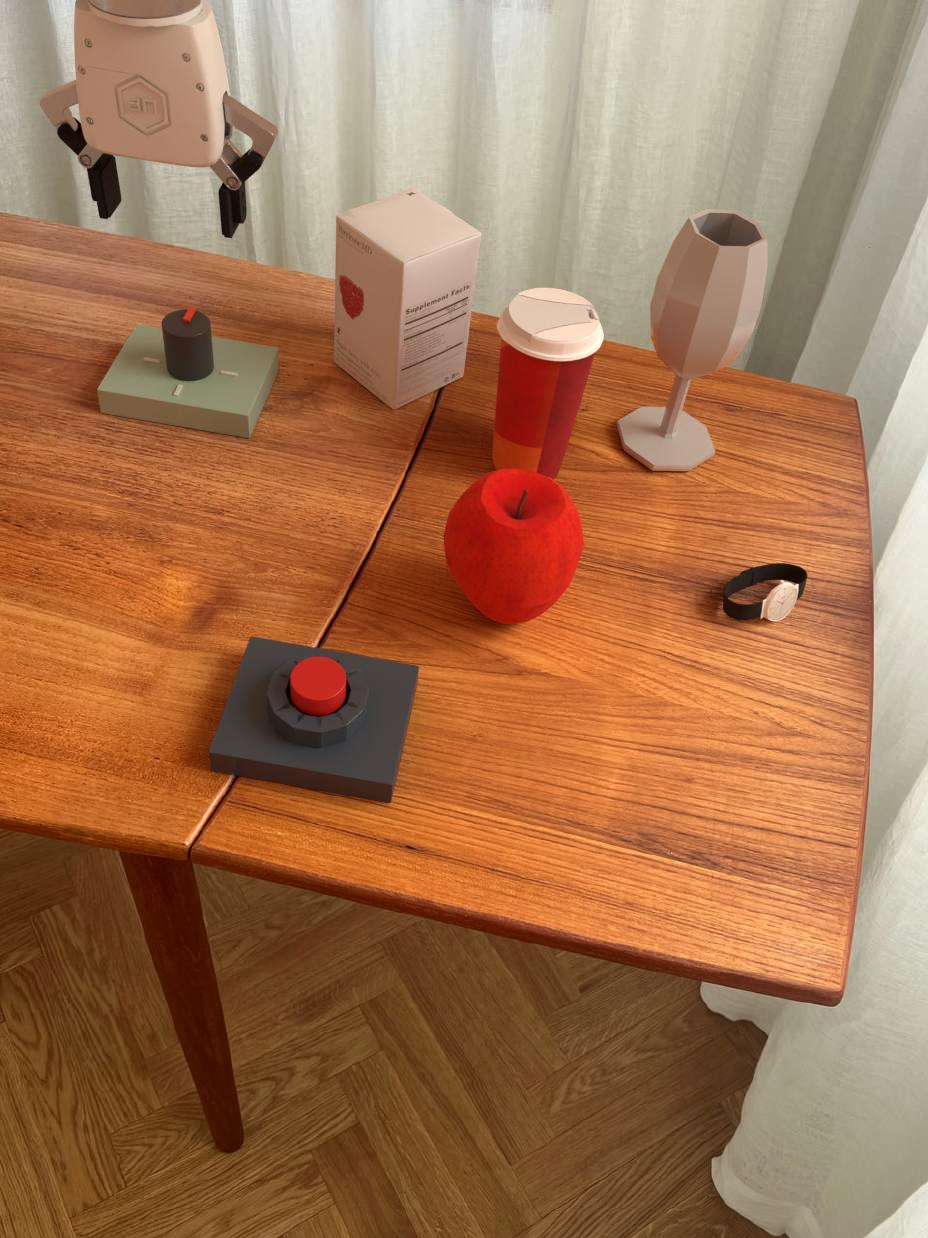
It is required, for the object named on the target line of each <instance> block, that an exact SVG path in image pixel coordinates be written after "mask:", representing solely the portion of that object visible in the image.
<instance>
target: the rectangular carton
mask: <svg viewBox="0 0 928 1238" xmlns="http://www.w3.org/2000/svg"><path fill="white" fill-rule="evenodd" d="M482 235H483V233H482V232H481V231H480V230H478V229H477V228H475V227H474V226H472V225H470V224H469V223H467V222H466V221H464V220H463V219H461V217H458V216H457V215H456V214H455V213H454V212H453V211H451V210H450V209H448V208H447V207H445V206H444V205H441V204H440V203H438V202H436V201H435V200H433V199H431V198H430V197H428V196H427V195H426V194H424V193H422V192H421V191H419V190H418V189H417V188H416V187H411V188H408V189H406V190H403V191H401V192H397V193H395V194H392V195H389V196H387V197H384V198H380V199H378V200H376V201H372V202H369V203H366V204H363V205H360V206H359V205H358V206H357V207H353V208H350V209H348V210H345V211H343V212H340V213H338V214H336V216H335V265H334V266H335V267H334V268H335V269H334V270H335V271H334V273H335V274H334V275H335V277H334V336H333V337H334V338H333V341H334V342H333V363H334V364H336V365H337V366H338V367H340V368H341V369H342V370H343V371H344V372H346V373H347V374H348V375H350V376H351V377H352V378H353V379H354V380H356V381H357V382H358V383H359V384H361V385H362V387H364V388H365V389H367V390H368V391H369V392H370V393H372V394H373V395H374V396H375V397H377V398H378V399H379V400H380V401H381V402H383V403H384V404H385V405H386V406H387V407H388V408H390V409H391V410H398V409H400V408H402V407H404V406H406V405H408V404H410V403H412V402H414V401H416V400H418V399H420V398H423V397H424V396H427V395H428V394H429V395H430V393H433V392H435V391H437V390H439V389H441V388H443V387H445V386H447V385H449V384H451V383H453V382H455V381H457V380H459V379H461V378H463V377H464V374H465V367H466V358H467V351H468V343H469V335H470V328H471V319H472V312H473V303H474V295H475V288H476V280H477V273H478V265H479V264H478V263H479V255H480V249H481V243H482V237H483V236H482Z"/></svg>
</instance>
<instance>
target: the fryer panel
mask: <svg viewBox="0 0 928 1238" xmlns="http://www.w3.org/2000/svg"><path fill="white" fill-rule="evenodd" d="M212 347H213V359H214V369H213V371H212V373H211V374H210V375H209V376H207V377H205V378H203V379H200V380H196V381H184V380H180V379H177V378H175V377H173V376H171V375H170V374H169V372H168V370H167V366H166V358H165V350H164V341H163V333H162V327H161V326H160V327H159V326H154V325H148V324H143V323H136V324H135V325H134V328H132V330H131V332H130V334H129V335H128V337H127V339H126V341H125V342H124V344H123V346H122V348H120V350H119V352H118V354H117V356H116V357H115V358H114V361H113V362H112V364H111V365H110V367H109V369H108V370H107V372H106V374H105V375H104V376H103V378H102V380H101V382H100V384H99V385H98V387H97V388H96V392H97V399H98V404H99V409H100V413H101V414H105V415H111V416H116V417H123V418H127V419H128V418H129V419H134V420H139V421H145V422H152V423H156V424H162V425H167V426H168V425H170V426H174V427H180V428H186V429H193V430H197V431H204V432H210V433H215V434H222V435H227V436H234V437H238V438H244V439H245V438H246V439H250V438H251V436H252V434H253V432H254V430H255V427H256V425H257V423H258V421H259V418H260V416H261V413H262V411H263V409H264V406H265V404H266V402H267V400H268V397H269V395H270V393H271V390H272V388H273V386H274V384H275V381H276V379H277V377H278V374H279V372H280V349H279V347H277V346H271V345H265V344H259V343H254V342H248V341H242V340H236V339H231V338H224V337H219V336H212Z"/></svg>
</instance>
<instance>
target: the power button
mask: <svg viewBox="0 0 928 1238" xmlns="http://www.w3.org/2000/svg"><path fill="white" fill-rule="evenodd" d="M290 689H291V699H292V702H293V703H294V705H295V706H296V707H297V708H298V709H299V710H300V711H302V712H304V713H306V714H309V715H315V716H321V715H327V714H330V713H332V712H334V711H336V710H337V709H338V708H339V707H340V706H341V705H342V704H343V702H344V700H345V697H346V674H345V671H344V669H343V668H342V666H341V665H340V664H338V663H337V662H336V661H334V660H332V659H329V658H326V657H311V658H307V659H305V660H303V661H301V662H300V663H298V664H297V665H296V666H295V667H294V669H293V671H292V673H291V676H290Z"/></svg>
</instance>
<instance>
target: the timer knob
mask: <svg viewBox="0 0 928 1238" xmlns="http://www.w3.org/2000/svg"><path fill="white" fill-rule="evenodd" d="M160 326H161V328H162V333H163V341H164V350H165V358H166V366H167V370H168V372H169V374H170V375H171V376H173V377H175V378H177V379H180V380H184V381H196V380H200V379H203V378H205V377H207V376H209V375H210V374H211V373H212V371H213V369H214V359H213V347H212V324H211V320H210V318H209V317H208V315H206V314H205V313H203V312H201V311H199V310H197V307H195V306H189V307H188V309H185V308H184V309H177V310H173V311H171V312H169V313H167V314H165V316H164V317H163V318H162V319H161V325H160Z"/></svg>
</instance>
